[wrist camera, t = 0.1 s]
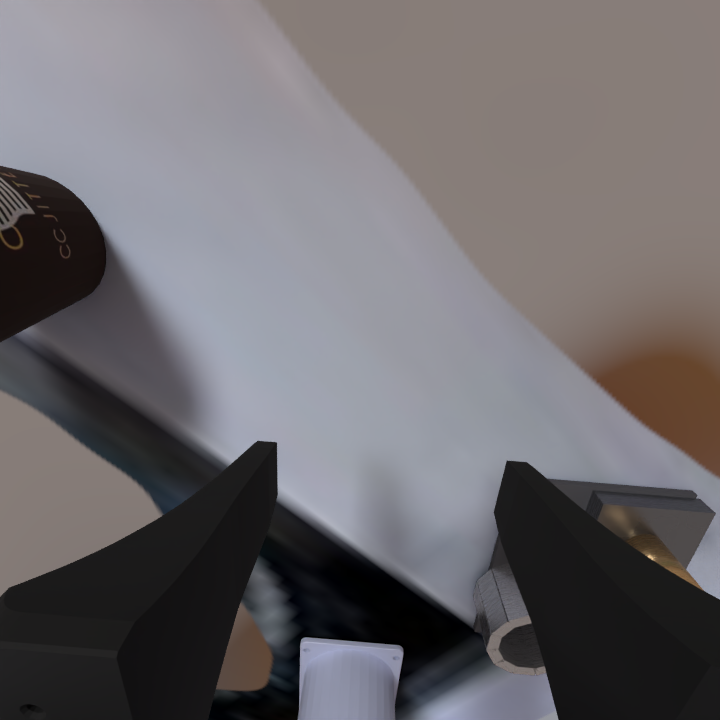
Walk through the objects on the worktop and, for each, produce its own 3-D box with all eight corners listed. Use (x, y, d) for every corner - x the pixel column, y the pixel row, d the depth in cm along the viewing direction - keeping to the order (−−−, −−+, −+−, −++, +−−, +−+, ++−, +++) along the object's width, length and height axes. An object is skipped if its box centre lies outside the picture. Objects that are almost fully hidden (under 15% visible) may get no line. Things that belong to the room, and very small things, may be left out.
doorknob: (661, 574, 26) (716, 647, 22) (564, 566, 26) (601, 637, 22) (699, 498, 24) (770, 563, 19) (592, 490, 24) (640, 552, 20)
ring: (544, 622, 28) (567, 678, 25) (468, 615, 28) (480, 670, 25) (565, 566, 26) (593, 619, 23) (482, 559, 26) (497, 611, 23)
